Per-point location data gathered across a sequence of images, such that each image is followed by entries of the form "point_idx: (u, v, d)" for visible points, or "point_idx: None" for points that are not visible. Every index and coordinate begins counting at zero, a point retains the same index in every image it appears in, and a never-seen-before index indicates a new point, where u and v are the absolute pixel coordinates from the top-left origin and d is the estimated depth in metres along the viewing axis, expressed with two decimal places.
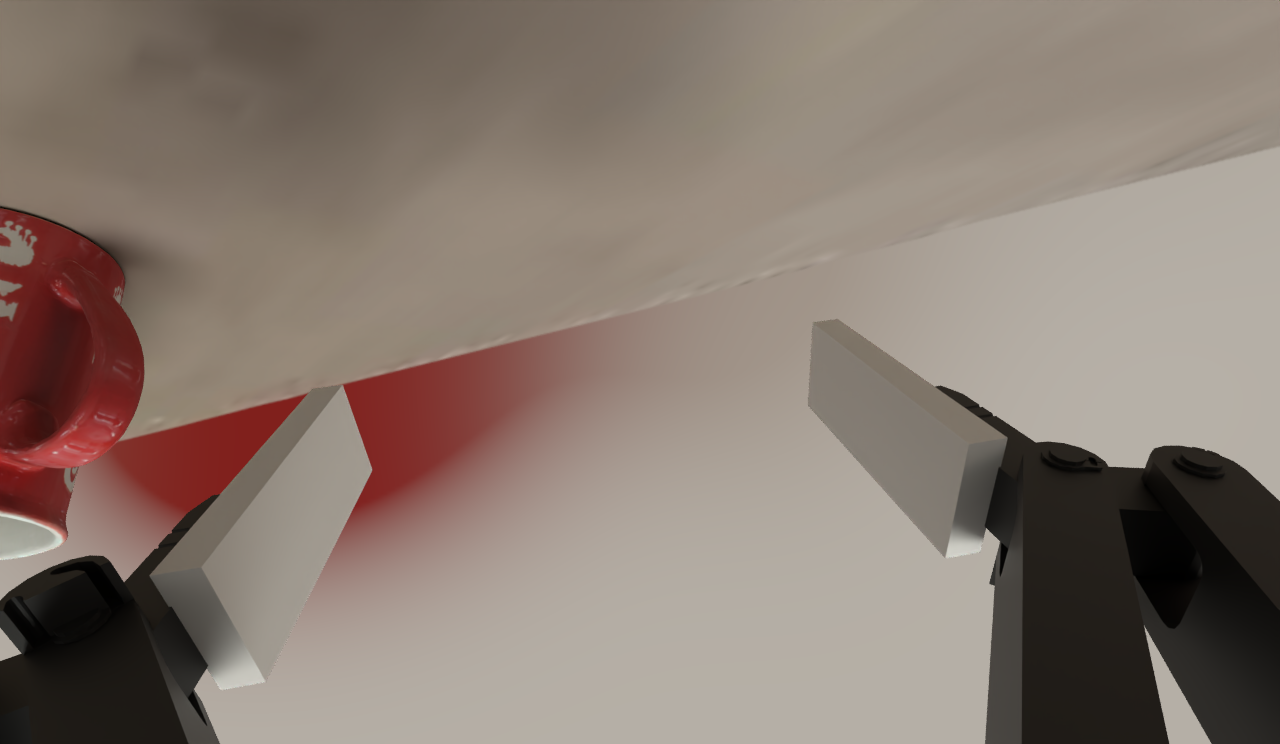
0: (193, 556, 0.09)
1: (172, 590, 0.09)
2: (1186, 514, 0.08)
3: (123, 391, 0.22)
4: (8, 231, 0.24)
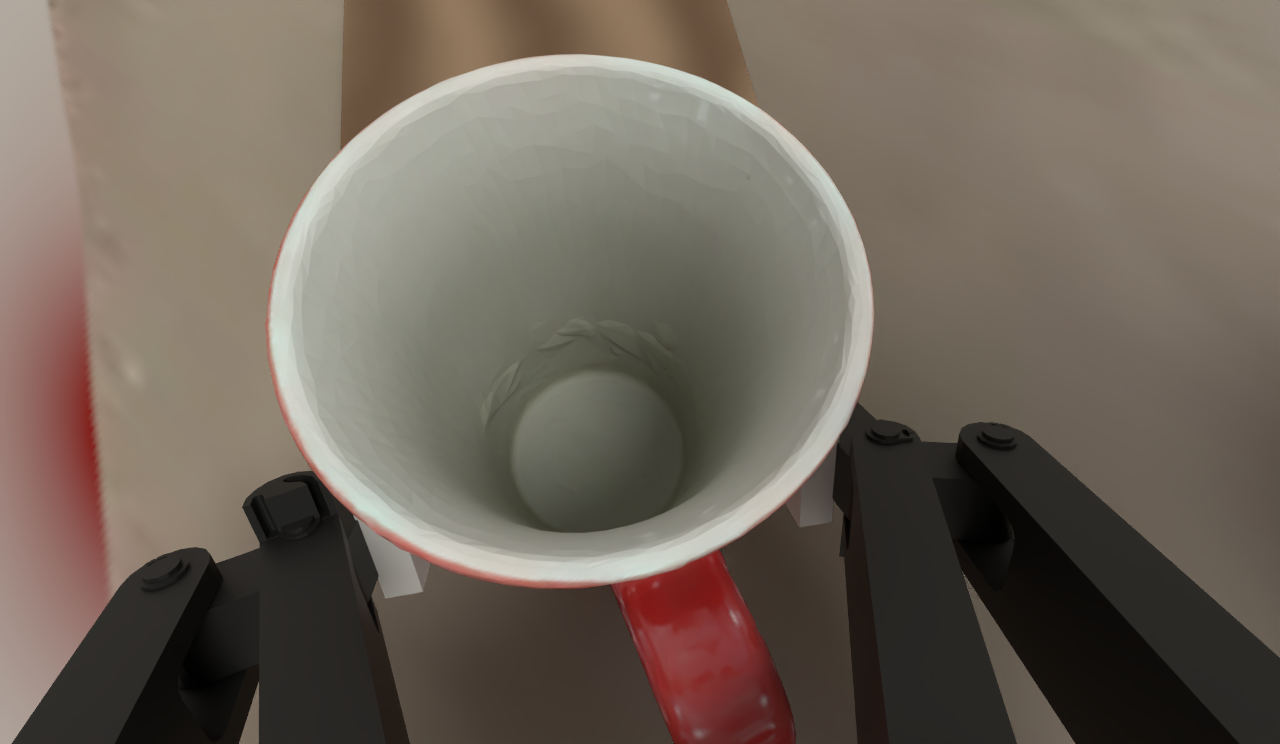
0: None
1: None
2: (995, 486, 0.09)
3: None
4: None
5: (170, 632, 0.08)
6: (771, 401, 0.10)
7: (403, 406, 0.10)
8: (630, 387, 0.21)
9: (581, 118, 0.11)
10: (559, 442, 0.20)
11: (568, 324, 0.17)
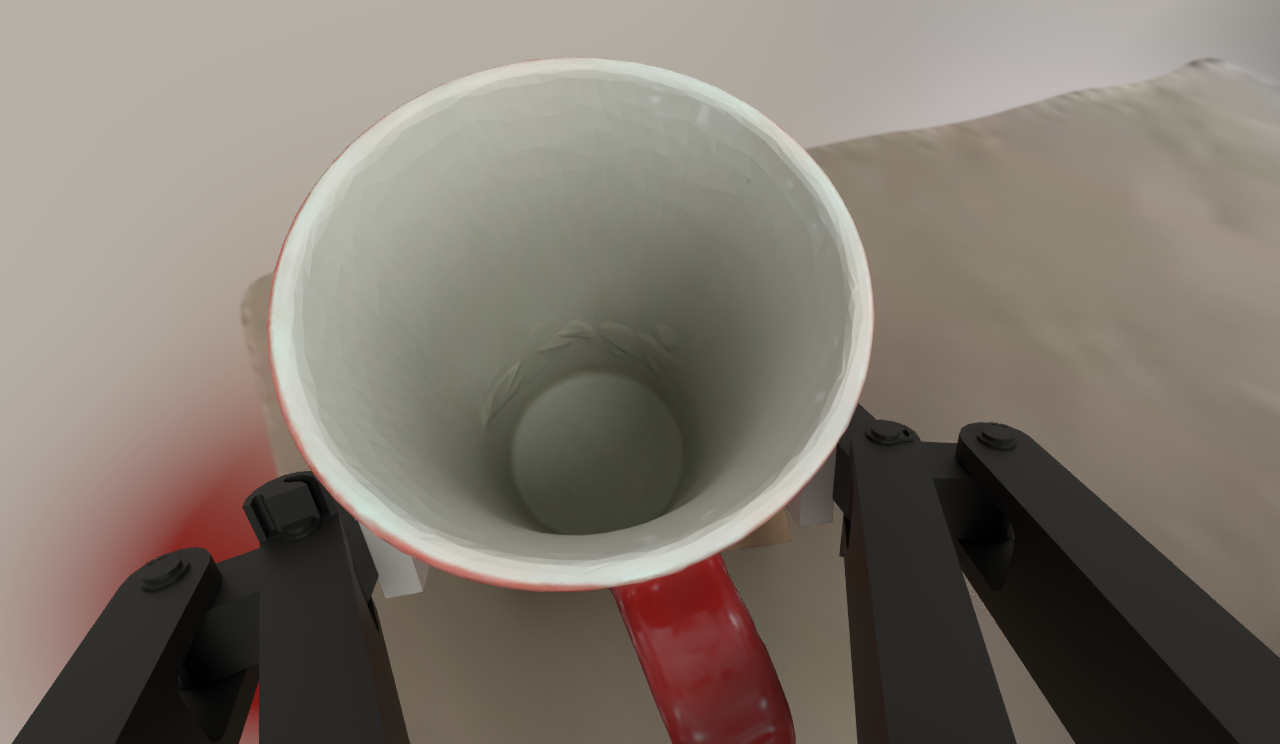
0: None
1: None
2: (995, 486, 0.09)
3: None
4: None
5: (170, 632, 0.08)
6: (771, 404, 0.10)
7: (403, 408, 0.10)
8: (630, 389, 0.21)
9: (582, 121, 0.11)
10: (559, 443, 0.20)
11: (567, 326, 0.17)
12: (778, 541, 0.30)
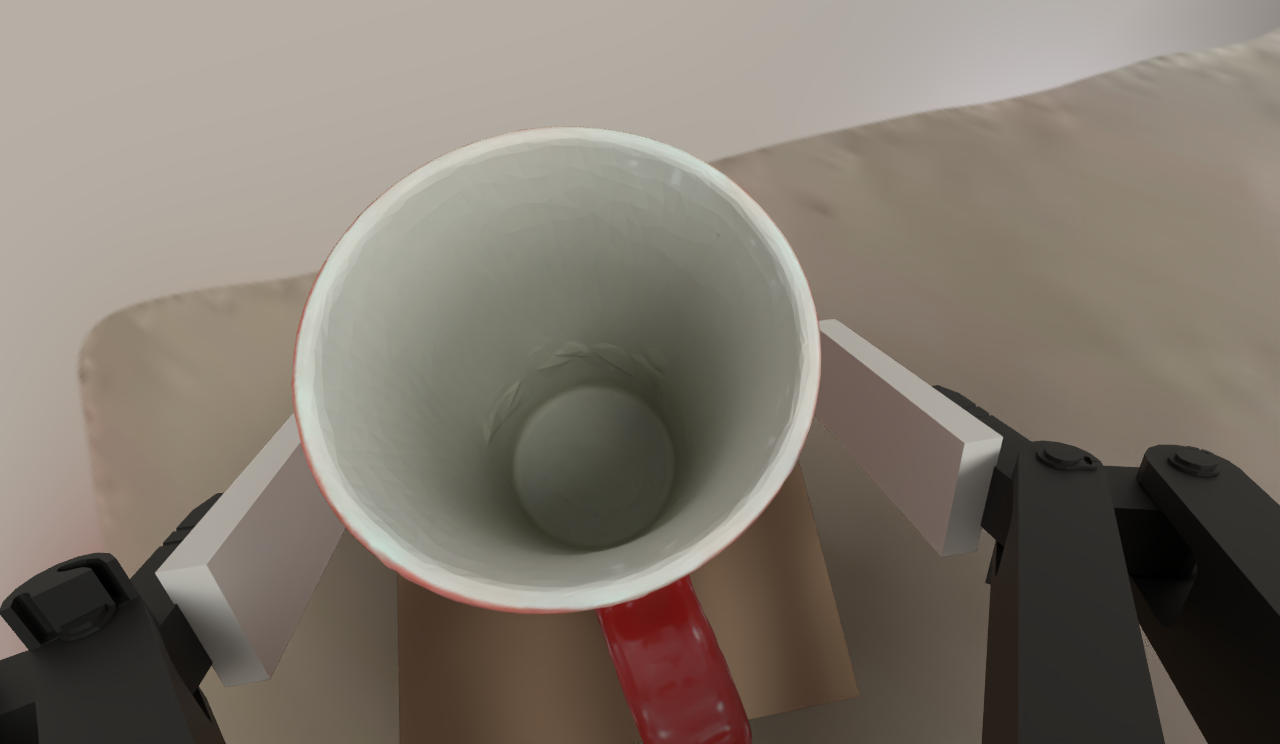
0: (198, 553, 0.09)
1: (178, 587, 0.09)
2: (1180, 513, 0.08)
3: None
4: None
5: None
6: (737, 438, 0.11)
7: (410, 441, 0.11)
8: (625, 401, 0.22)
9: (568, 179, 0.12)
10: (558, 453, 0.21)
11: (564, 347, 0.19)
12: (840, 697, 0.20)
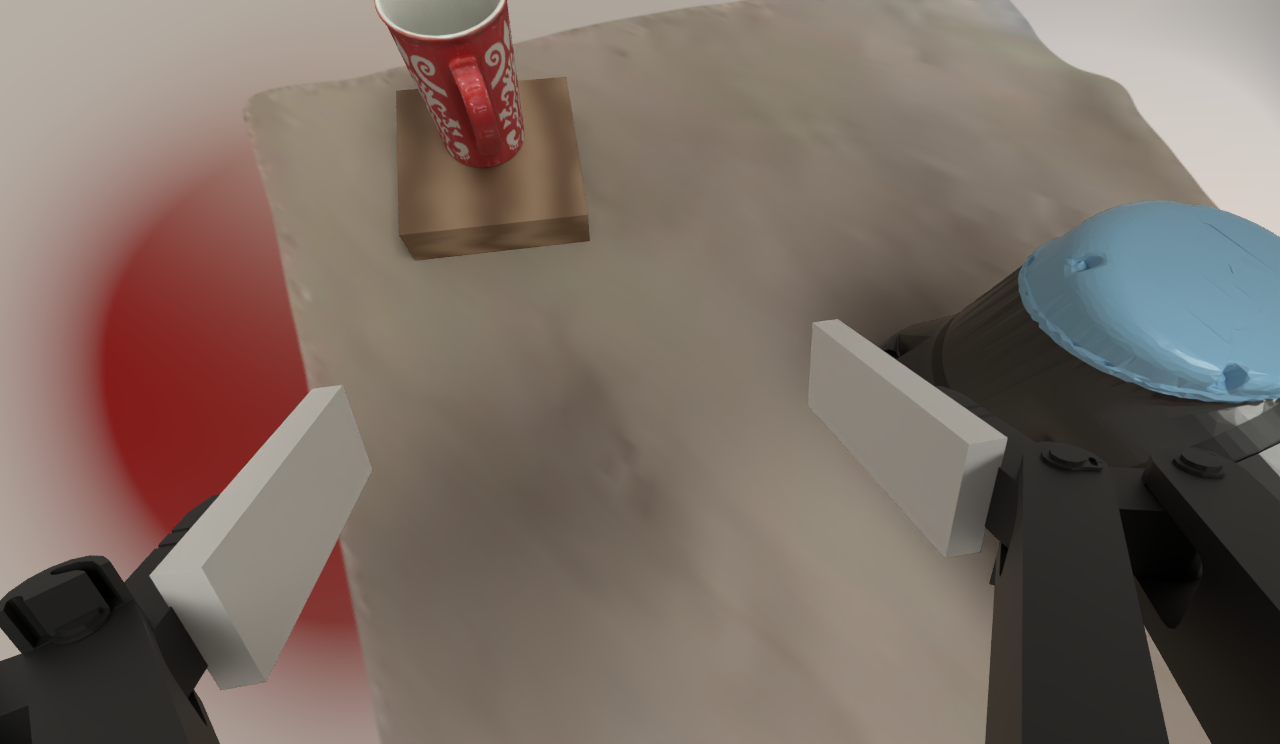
0: (193, 556, 0.09)
1: (172, 590, 0.09)
2: (1186, 514, 0.08)
3: (484, 124, 0.39)
4: (516, 142, 0.49)
5: None
6: None
7: None
8: None
9: None
10: None
11: None
12: (579, 214, 0.48)
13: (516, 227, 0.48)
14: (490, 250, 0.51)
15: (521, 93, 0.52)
